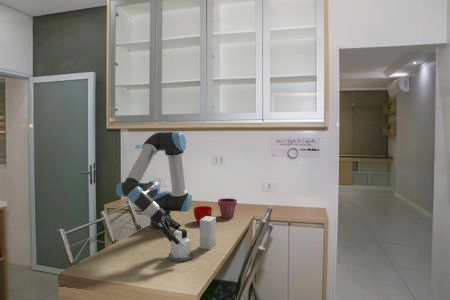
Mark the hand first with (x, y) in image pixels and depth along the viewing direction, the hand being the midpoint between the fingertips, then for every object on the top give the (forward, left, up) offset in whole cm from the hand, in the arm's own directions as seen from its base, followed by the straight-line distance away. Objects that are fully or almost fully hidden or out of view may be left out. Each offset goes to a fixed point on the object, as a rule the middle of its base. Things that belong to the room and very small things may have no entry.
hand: (185, 242), depth 135 cm
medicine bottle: (0, -2, -6) cm, 7 cm away
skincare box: (-13, +11, -7) cm, 18 cm away
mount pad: (0, -2, -7) cm, 8 cm away
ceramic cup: (-57, +7, -7) cm, 58 cm away
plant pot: (-73, +24, -7) cm, 77 cm away
